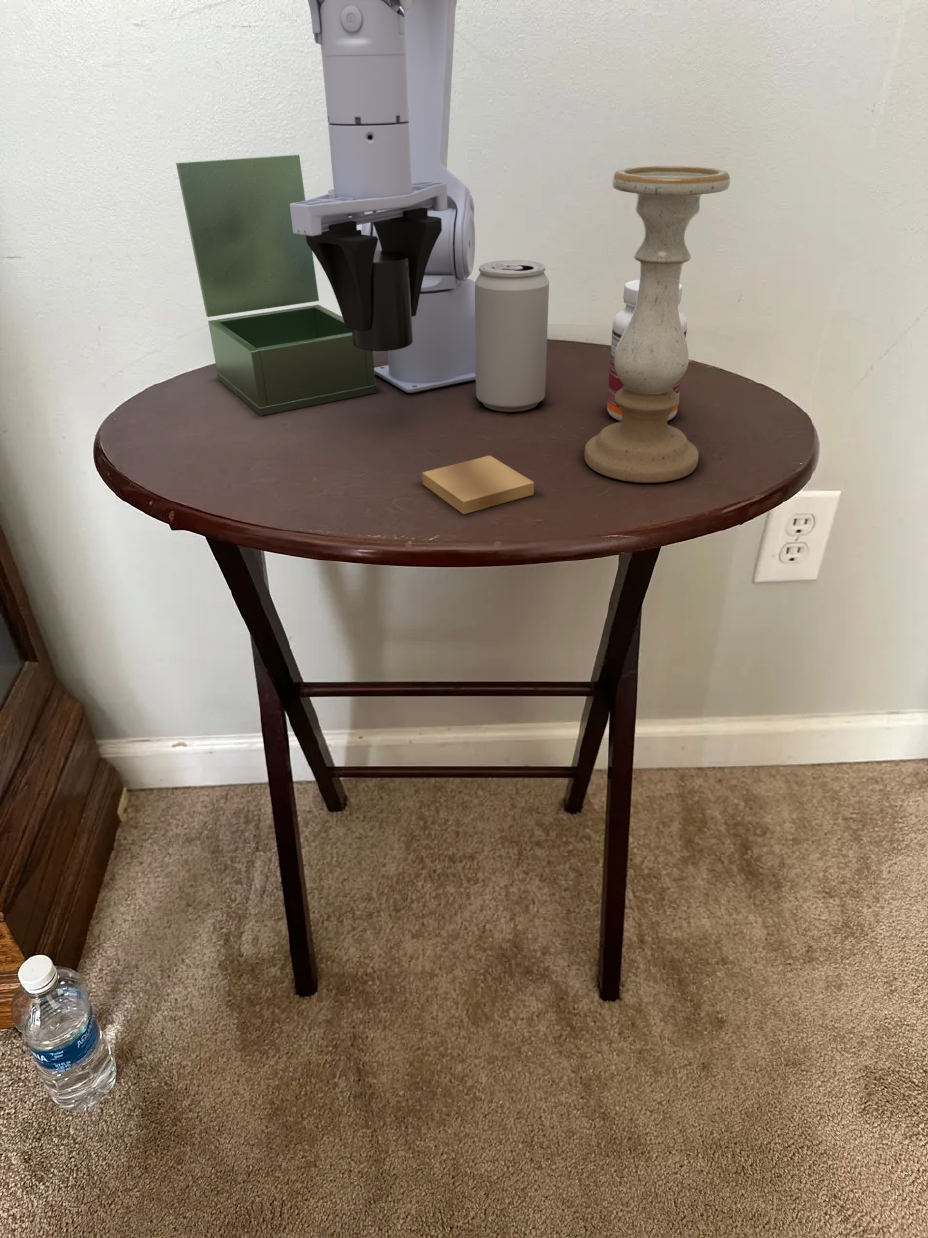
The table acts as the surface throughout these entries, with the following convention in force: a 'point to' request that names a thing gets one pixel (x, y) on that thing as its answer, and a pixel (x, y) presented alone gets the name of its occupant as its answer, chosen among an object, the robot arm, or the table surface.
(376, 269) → the cylinder
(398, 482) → the table surface
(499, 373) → the beverage can
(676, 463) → the candle holder
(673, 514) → the table surface
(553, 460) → the table surface
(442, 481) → the plate
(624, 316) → the pill bottle
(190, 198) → the green box lid
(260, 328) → the green hinged box
